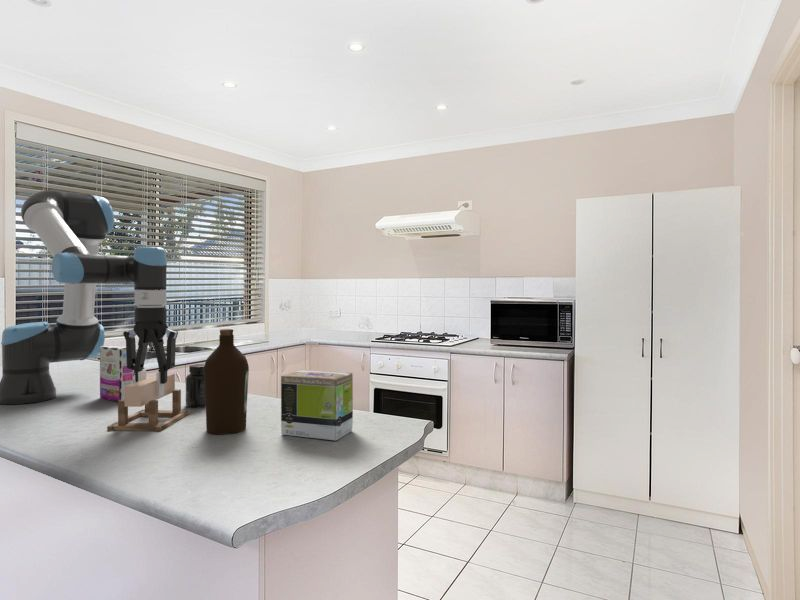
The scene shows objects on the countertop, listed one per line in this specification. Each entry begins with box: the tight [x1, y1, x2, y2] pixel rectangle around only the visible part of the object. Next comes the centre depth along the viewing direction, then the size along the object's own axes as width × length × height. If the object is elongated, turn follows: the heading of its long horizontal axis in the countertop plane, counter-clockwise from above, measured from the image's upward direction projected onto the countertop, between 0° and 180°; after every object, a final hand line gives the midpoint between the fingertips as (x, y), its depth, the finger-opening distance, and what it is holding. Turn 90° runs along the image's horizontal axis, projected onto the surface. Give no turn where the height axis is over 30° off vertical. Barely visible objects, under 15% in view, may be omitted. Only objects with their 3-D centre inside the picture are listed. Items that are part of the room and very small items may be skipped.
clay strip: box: [124, 373, 176, 408], centre depth 133 cm, size 18×4×5 cm, turn 179°
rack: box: [106, 388, 191, 432], centre depth 133 cm, size 17×13×7 cm
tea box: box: [280, 369, 354, 442], centre depth 125 cm, size 15×10×15 cm, turn 71°
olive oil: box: [204, 328, 250, 435], centre depth 127 cm, size 11×11×25 cm
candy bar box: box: [99, 345, 135, 403], centre depth 158 cm, size 11×5×16 cm, turn 61°
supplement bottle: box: [185, 363, 206, 409], centre depth 151 cm, size 7×7×12 cm
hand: (151, 395), depth 133 cm, fingers closed on clay strip, 4 cm apart
